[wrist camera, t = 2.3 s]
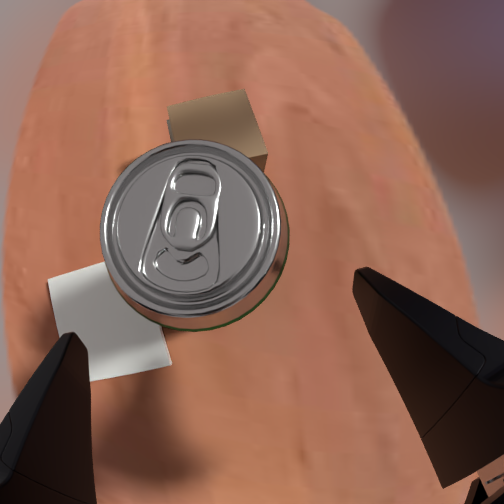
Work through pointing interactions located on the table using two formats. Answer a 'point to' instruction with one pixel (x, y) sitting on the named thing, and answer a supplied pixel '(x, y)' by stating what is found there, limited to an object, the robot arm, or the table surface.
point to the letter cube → (220, 123)
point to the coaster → (106, 324)
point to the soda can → (194, 235)
